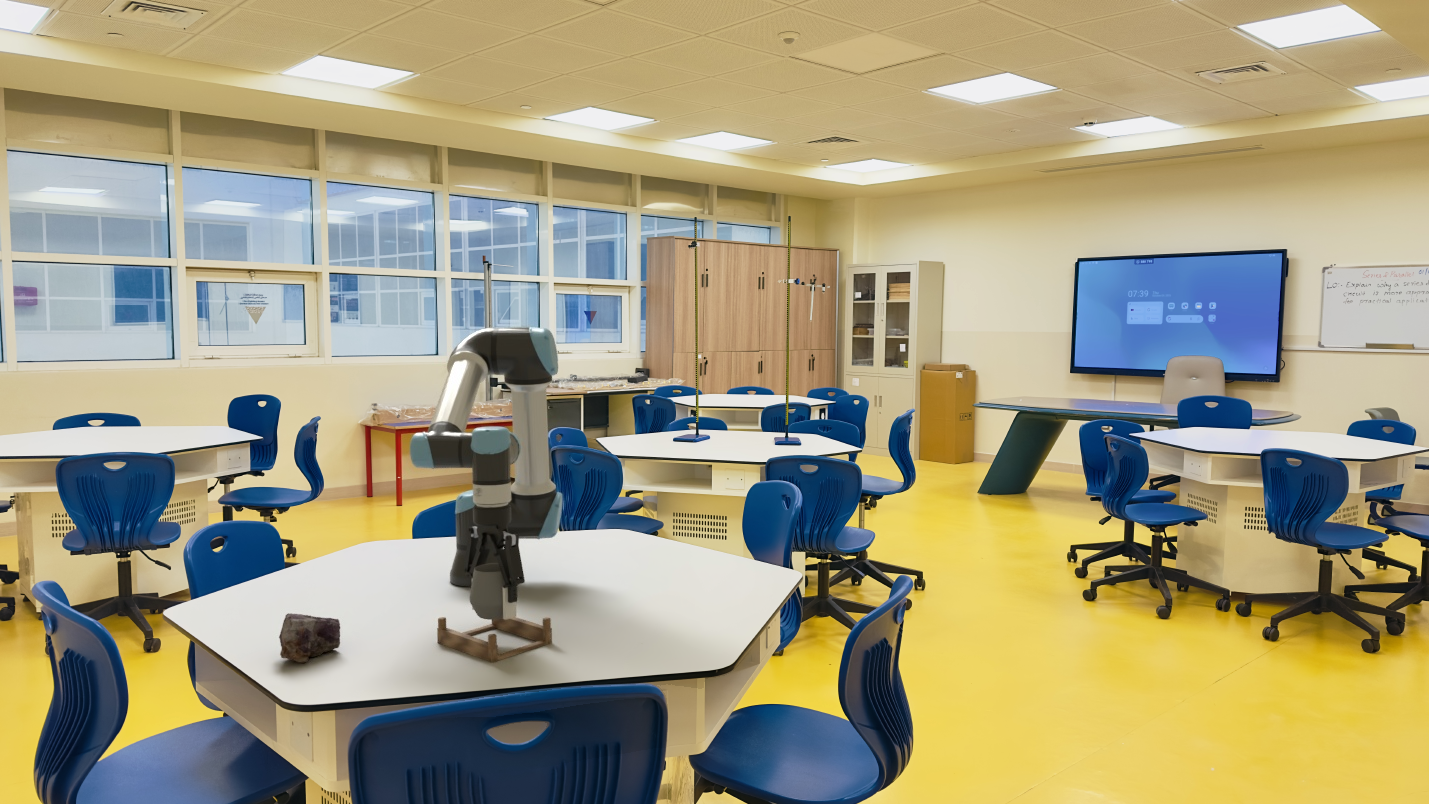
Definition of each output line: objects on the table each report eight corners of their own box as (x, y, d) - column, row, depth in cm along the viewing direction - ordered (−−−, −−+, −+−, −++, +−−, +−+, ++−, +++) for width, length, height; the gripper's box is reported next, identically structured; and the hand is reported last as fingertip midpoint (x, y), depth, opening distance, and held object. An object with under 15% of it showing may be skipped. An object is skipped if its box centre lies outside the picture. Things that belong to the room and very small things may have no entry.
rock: (344, 659, 183) (313, 648, 189) (350, 615, 184) (319, 606, 189) (290, 667, 174) (259, 656, 179) (295, 621, 174) (265, 611, 179)
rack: (436, 642, 189) (436, 618, 189) (497, 624, 201) (496, 602, 200) (491, 662, 177) (491, 637, 177) (552, 642, 189) (552, 618, 189)
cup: (526, 611, 191) (525, 564, 191) (501, 625, 183) (500, 575, 182) (486, 607, 194) (485, 560, 194) (460, 620, 186) (459, 571, 185)
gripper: (443, 500, 191) (446, 607, 193) (511, 513, 177) (513, 628, 179) (474, 495, 197) (476, 599, 198) (542, 507, 183) (544, 619, 184)
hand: (494, 612), depth 188 cm, fingers closed on cup, 9 cm apart
